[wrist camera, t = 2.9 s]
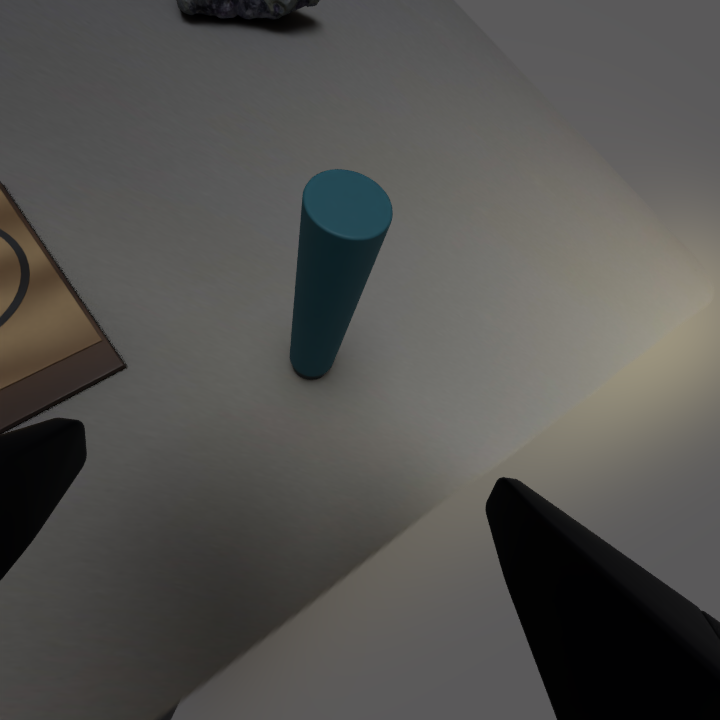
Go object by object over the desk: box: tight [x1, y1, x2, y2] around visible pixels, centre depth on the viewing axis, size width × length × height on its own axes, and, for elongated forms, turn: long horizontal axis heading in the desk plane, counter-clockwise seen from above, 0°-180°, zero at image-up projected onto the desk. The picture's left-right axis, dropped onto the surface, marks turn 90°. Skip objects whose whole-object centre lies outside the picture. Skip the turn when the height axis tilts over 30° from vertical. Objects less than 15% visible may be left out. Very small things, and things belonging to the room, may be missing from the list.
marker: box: [290, 169, 393, 380], centre depth 16 cm, size 3×3×14 cm
